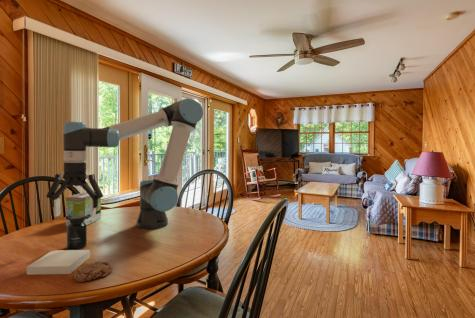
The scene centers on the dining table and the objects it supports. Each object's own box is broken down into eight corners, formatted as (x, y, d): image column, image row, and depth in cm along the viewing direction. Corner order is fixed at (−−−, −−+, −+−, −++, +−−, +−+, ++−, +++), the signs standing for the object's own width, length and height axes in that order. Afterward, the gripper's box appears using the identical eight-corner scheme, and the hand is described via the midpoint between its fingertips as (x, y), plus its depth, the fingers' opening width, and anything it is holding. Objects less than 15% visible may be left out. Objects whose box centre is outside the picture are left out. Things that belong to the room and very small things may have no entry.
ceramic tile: (90, 256, 98) (89, 249, 98) (69, 273, 85) (69, 266, 85) (52, 257, 97) (52, 250, 97) (26, 274, 84) (26, 266, 84)
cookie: (66, 280, 81) (66, 270, 81) (95, 265, 91) (95, 257, 91) (91, 286, 78) (91, 276, 78) (118, 270, 88) (118, 261, 88)
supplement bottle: (72, 251, 102) (71, 220, 101) (63, 248, 105) (62, 217, 105) (90, 246, 108) (89, 216, 107) (81, 242, 111) (80, 214, 111)
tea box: (85, 227, 132) (84, 197, 131) (65, 226, 132) (64, 196, 131) (101, 218, 147) (101, 191, 146) (83, 218, 147) (82, 191, 146)
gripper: (35, 161, 100) (35, 218, 101) (103, 163, 102) (103, 218, 103) (48, 160, 108) (48, 213, 109) (111, 161, 109) (111, 213, 110)
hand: (75, 215), depth 106 cm, fingers open, 13 cm apart
